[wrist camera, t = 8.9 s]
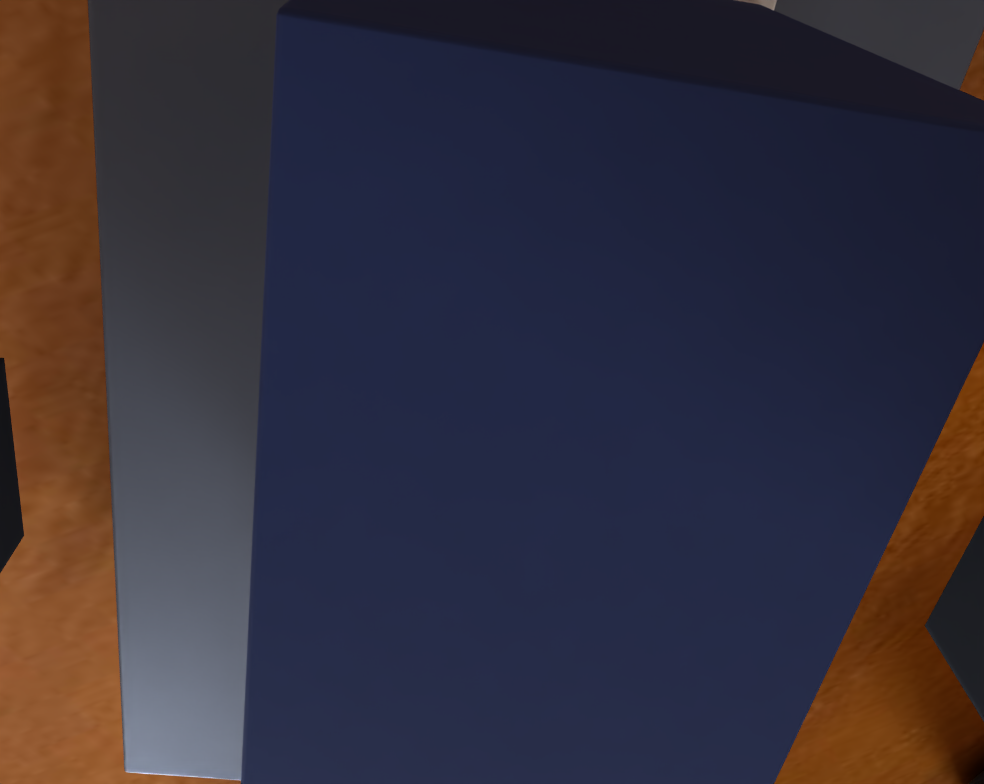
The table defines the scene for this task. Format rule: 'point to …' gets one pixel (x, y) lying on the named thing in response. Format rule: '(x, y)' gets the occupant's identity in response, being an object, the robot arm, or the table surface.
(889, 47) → the shoe shelf
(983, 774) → the high-heeled shoe
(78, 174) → the table surface
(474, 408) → the navy block on base
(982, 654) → the robot arm
